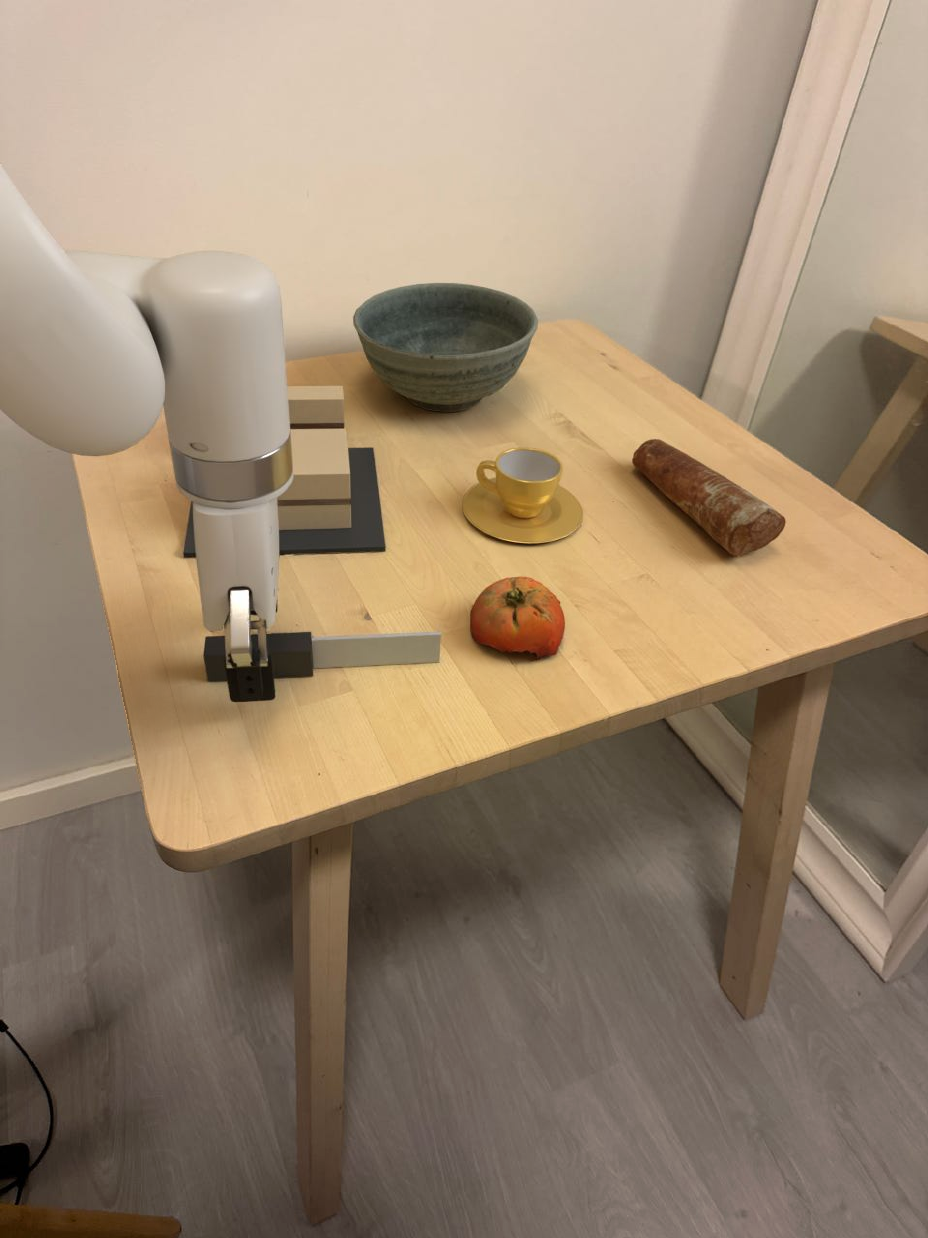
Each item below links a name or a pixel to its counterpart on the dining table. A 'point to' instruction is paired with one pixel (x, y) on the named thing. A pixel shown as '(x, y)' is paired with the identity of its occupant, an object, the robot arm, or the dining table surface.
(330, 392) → the slice
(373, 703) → the dining table surface
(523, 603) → the tomato
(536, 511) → the cup
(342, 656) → the knife
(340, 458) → the cake
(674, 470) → the salami
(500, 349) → the bowl
